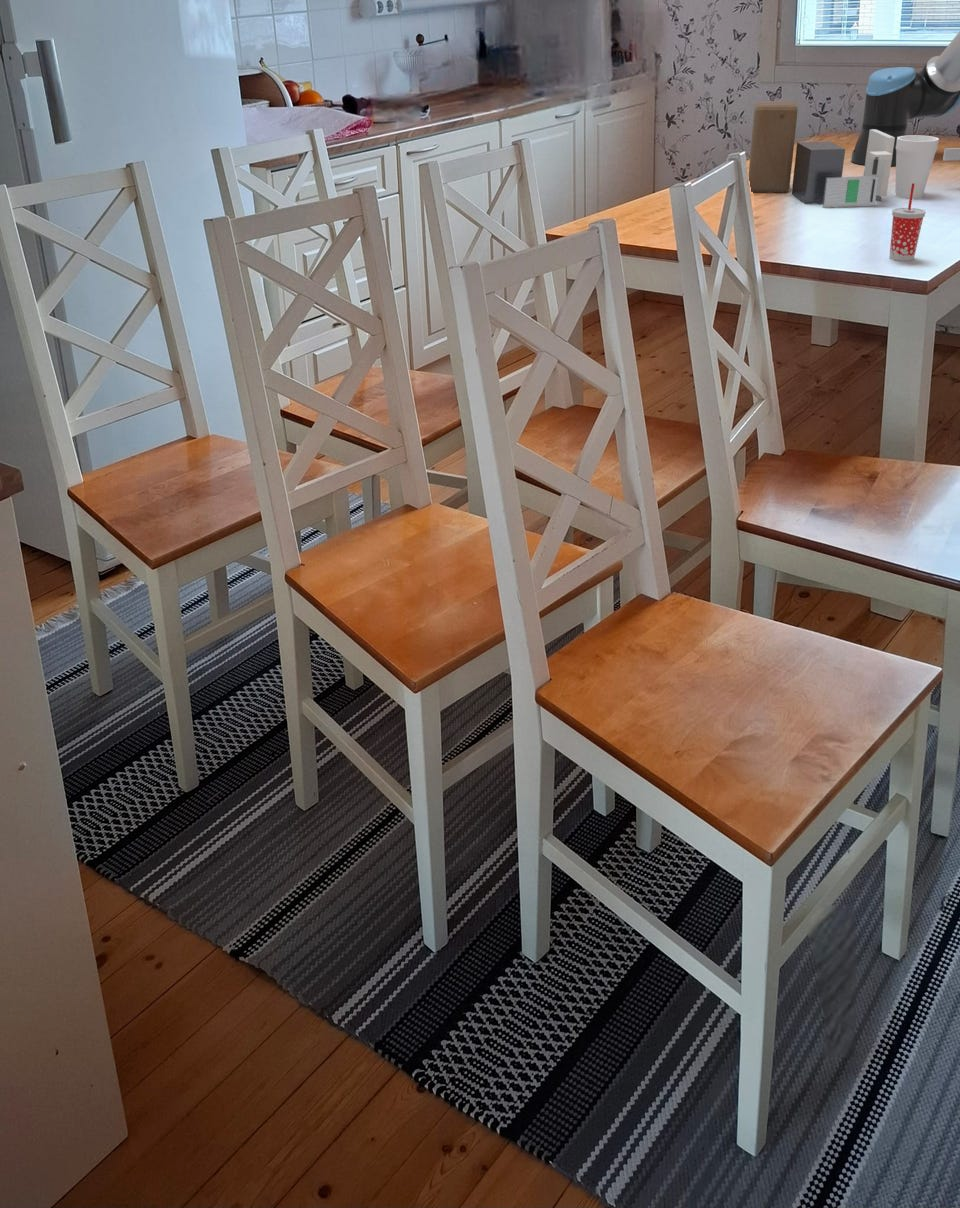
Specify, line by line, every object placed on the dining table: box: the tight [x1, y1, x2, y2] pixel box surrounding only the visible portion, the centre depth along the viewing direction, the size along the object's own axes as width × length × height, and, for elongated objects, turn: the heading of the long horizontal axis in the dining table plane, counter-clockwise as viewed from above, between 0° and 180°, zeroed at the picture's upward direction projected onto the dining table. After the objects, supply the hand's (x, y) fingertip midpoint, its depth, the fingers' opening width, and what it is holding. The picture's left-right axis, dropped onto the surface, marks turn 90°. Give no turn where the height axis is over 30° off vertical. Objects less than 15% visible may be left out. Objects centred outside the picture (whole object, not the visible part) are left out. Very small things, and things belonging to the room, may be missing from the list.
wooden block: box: [748, 100, 799, 194], centre depth 288 cm, size 10×10×20 cm
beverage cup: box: [888, 183, 926, 262], centre depth 226 cm, size 6×6×14 cm
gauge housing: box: [791, 140, 882, 209], centre depth 277 cm, size 18×17×12 cm
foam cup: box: [894, 134, 940, 199], centre depth 279 cm, size 10×9×13 cm
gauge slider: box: [863, 129, 895, 197], centre depth 276 cm, size 6×17×13 cm, turn 2°
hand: (955, 159), depth 278 cm, fingers open, 13 cm apart
